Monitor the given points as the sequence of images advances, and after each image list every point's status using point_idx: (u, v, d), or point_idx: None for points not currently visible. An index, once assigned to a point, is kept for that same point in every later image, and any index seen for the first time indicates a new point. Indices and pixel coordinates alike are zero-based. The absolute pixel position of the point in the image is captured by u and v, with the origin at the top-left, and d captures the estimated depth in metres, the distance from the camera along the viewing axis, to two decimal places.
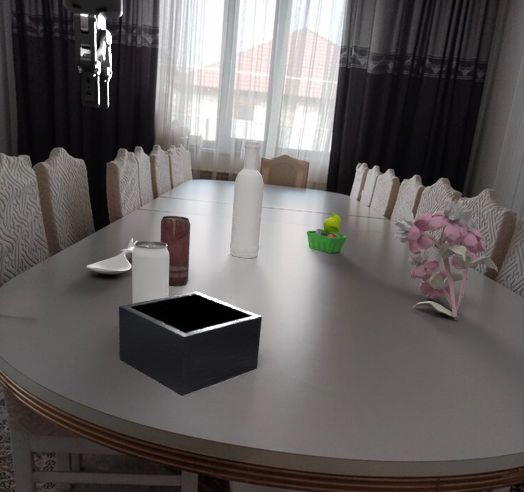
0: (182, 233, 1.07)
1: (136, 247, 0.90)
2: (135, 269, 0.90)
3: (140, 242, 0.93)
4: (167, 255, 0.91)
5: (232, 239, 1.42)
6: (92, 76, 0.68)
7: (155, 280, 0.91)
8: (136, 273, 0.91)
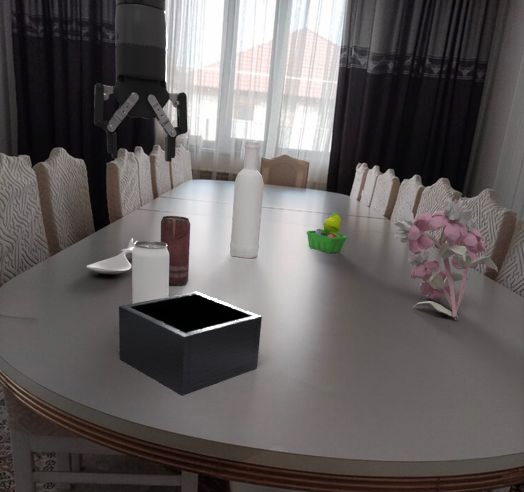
0: (182, 233, 1.07)
1: (136, 247, 0.90)
2: (135, 269, 0.90)
3: (140, 242, 0.93)
4: (167, 255, 0.91)
5: (232, 239, 1.42)
6: (107, 133, 0.80)
7: (155, 280, 0.91)
8: (136, 273, 0.91)
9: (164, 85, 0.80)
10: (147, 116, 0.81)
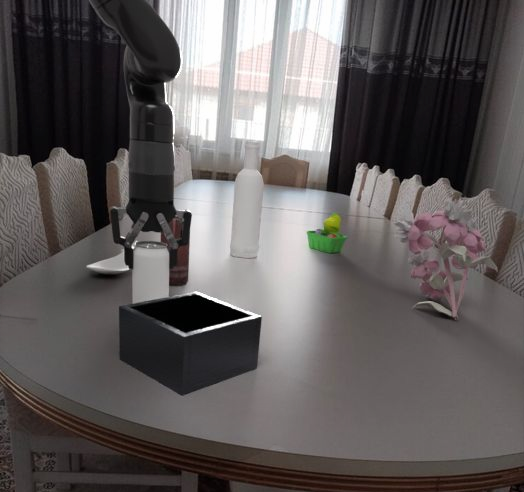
0: None
1: (136, 247, 0.90)
2: (135, 268, 0.90)
3: (140, 242, 0.93)
4: (167, 255, 0.91)
5: (232, 239, 1.42)
6: (124, 248, 0.90)
7: (155, 280, 0.91)
8: (136, 273, 0.91)
9: (172, 203, 0.89)
10: (156, 230, 0.90)
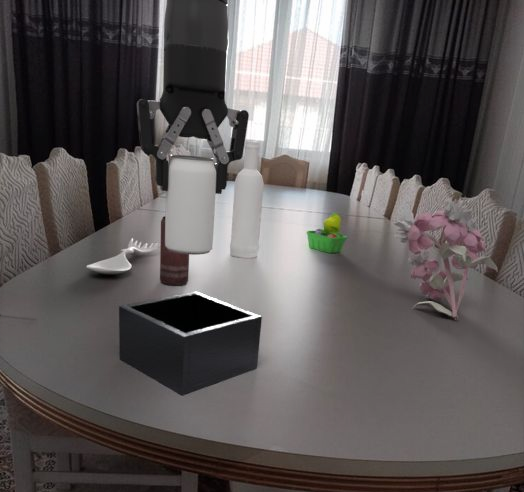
0: None
1: (173, 159, 0.65)
2: (172, 190, 0.66)
3: None
4: (214, 172, 0.66)
5: (232, 239, 1.42)
6: (156, 160, 0.65)
7: (198, 205, 0.66)
8: (172, 197, 0.66)
9: (222, 97, 0.64)
10: (200, 135, 0.65)
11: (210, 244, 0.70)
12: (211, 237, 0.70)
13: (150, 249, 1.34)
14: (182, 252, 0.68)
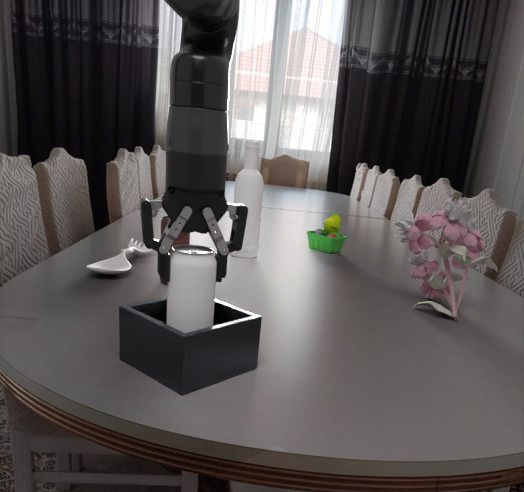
0: (182, 233, 1.07)
1: (174, 253, 0.67)
2: (173, 282, 0.68)
3: (178, 246, 0.70)
4: (214, 264, 0.68)
5: None
6: (158, 254, 0.67)
7: (199, 297, 0.68)
8: (173, 288, 0.68)
9: (222, 194, 0.66)
10: (201, 230, 0.67)
11: None
12: (211, 323, 0.72)
13: (150, 249, 1.34)
14: None
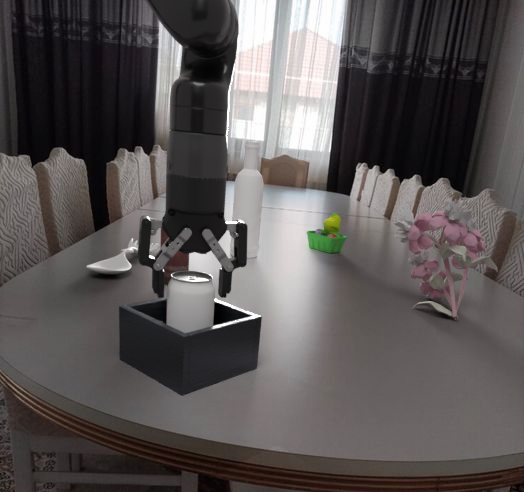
0: None
1: (173, 280, 0.69)
2: (172, 308, 0.69)
3: (177, 273, 0.71)
4: (213, 291, 0.70)
5: (232, 239, 1.42)
6: (153, 271, 0.68)
7: (198, 323, 0.69)
8: (172, 314, 0.69)
9: (222, 216, 0.67)
10: (200, 251, 0.68)
11: None
12: None
13: (150, 249, 1.34)
14: None
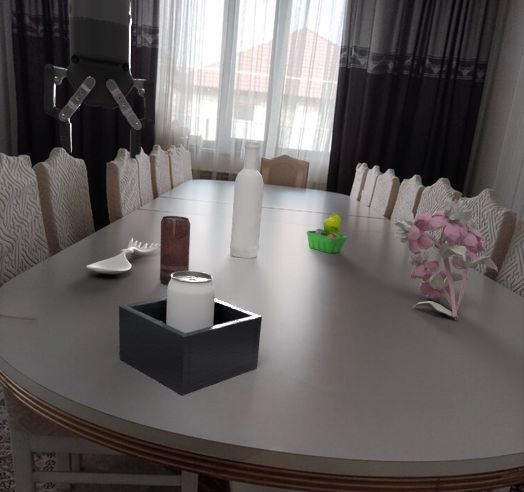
0: (182, 233, 1.07)
1: (173, 281, 0.69)
2: (172, 308, 0.69)
3: (177, 273, 0.71)
4: (213, 291, 0.70)
5: (232, 239, 1.42)
6: (59, 123, 0.69)
7: (198, 323, 0.69)
8: (172, 315, 0.69)
9: (127, 69, 0.68)
10: (107, 105, 0.69)
11: None
12: None
13: (150, 249, 1.34)
14: None
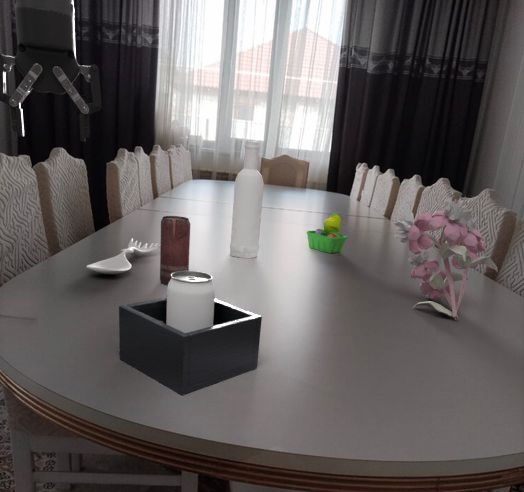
0: (182, 233, 1.07)
1: (173, 281, 0.69)
2: (172, 308, 0.69)
3: (177, 273, 0.71)
4: (213, 291, 0.70)
5: (232, 239, 1.42)
6: (10, 108, 0.73)
7: (197, 323, 0.69)
8: (172, 315, 0.69)
9: (72, 56, 0.73)
10: (54, 90, 0.74)
11: None
12: None
13: (150, 249, 1.34)
14: None
